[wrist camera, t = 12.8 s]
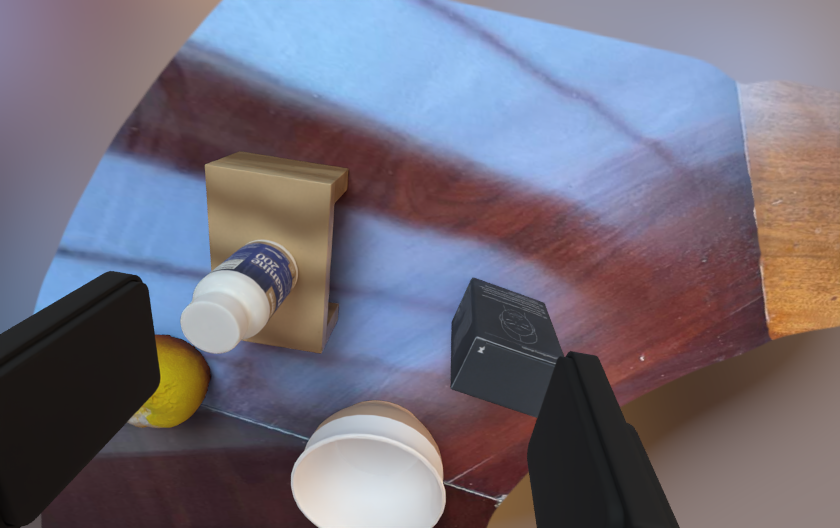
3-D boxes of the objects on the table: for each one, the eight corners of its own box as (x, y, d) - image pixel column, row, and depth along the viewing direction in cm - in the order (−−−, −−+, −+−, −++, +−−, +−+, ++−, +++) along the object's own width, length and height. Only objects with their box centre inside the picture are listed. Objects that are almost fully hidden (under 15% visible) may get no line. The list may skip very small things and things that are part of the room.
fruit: (119, 312, 48) (86, 361, 41) (223, 330, 51) (208, 378, 44) (110, 390, 52) (79, 446, 45) (206, 401, 56) (191, 454, 49)
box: (450, 321, 45) (448, 390, 36) (472, 275, 43) (475, 335, 33) (521, 347, 46) (538, 421, 36) (546, 302, 44) (571, 369, 34)
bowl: (342, 359, 48) (321, 411, 41) (472, 416, 50) (474, 475, 43) (295, 454, 55) (270, 512, 48) (412, 501, 56) (405, 565, 49)
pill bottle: (311, 283, 38) (265, 349, 29) (258, 303, 39) (199, 372, 30) (279, 228, 36) (220, 280, 27) (225, 250, 37) (152, 307, 29)
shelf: (239, 151, 40) (204, 164, 35) (348, 168, 40) (331, 184, 34) (244, 304, 47) (215, 336, 41) (337, 320, 46) (321, 353, 41)
